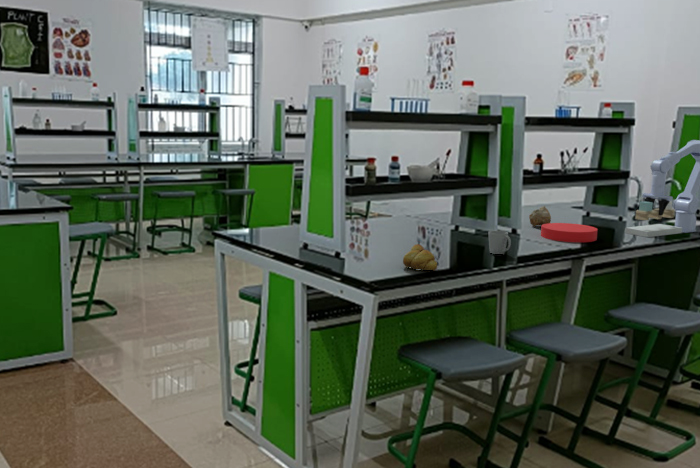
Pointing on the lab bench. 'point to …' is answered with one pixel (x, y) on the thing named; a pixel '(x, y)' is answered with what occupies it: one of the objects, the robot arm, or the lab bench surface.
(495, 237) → the cup
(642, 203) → the crate teal
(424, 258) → the bread roll
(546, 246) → the lab bench surface
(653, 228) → the dock
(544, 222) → the rock
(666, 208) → the crate white
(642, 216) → the beige lumpy bar
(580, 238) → the disc
